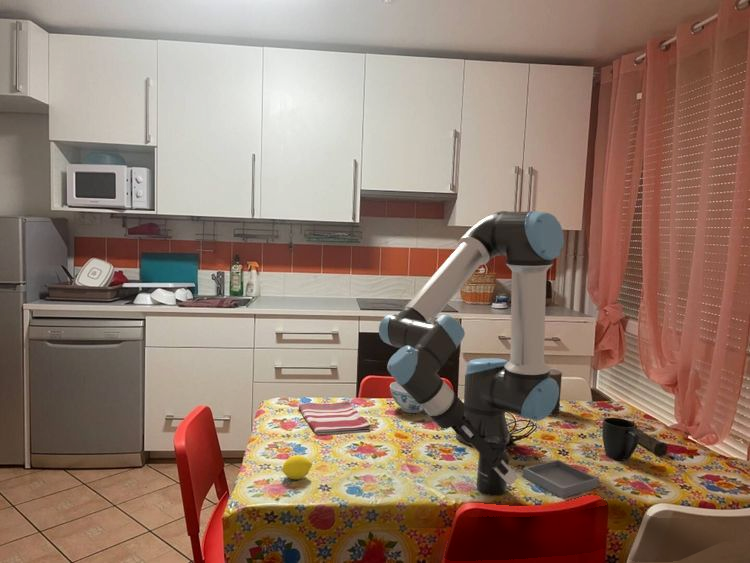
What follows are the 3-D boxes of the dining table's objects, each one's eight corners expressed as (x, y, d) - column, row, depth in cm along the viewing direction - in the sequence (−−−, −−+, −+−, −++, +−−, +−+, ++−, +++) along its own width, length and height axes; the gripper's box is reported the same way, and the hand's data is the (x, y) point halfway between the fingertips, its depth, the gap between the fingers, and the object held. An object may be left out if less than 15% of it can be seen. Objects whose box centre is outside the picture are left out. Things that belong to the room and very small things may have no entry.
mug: (618, 468, 147) (621, 432, 146) (594, 450, 159) (597, 417, 158) (648, 468, 148) (651, 432, 147) (622, 450, 160) (625, 417, 159)
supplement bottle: (473, 492, 129) (476, 440, 128) (479, 480, 135) (482, 431, 134) (504, 499, 127) (507, 446, 126) (508, 486, 133) (512, 436, 132)
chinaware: (391, 401, 196) (392, 379, 195) (435, 405, 193) (436, 382, 193) (386, 414, 181) (387, 390, 180) (433, 419, 179) (435, 395, 178)
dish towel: (348, 407, 188) (349, 399, 187) (372, 432, 166) (372, 423, 165) (298, 410, 182) (298, 402, 182) (315, 437, 160) (315, 427, 160)
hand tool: (667, 457, 157) (669, 440, 157) (654, 457, 157) (655, 440, 156) (629, 432, 176) (630, 418, 175) (617, 432, 175) (618, 417, 175)
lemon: (284, 486, 129) (282, 463, 128) (281, 476, 134) (279, 454, 133) (315, 480, 131) (313, 457, 130) (311, 470, 136) (309, 448, 135)
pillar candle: (565, 414, 190) (568, 370, 189) (540, 416, 187) (544, 371, 186) (547, 405, 199) (550, 363, 198) (523, 407, 196) (526, 364, 195)
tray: (522, 476, 139) (523, 467, 139) (557, 468, 145) (557, 459, 145) (561, 497, 128) (562, 488, 128) (597, 487, 135) (598, 478, 135)
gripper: (415, 399, 139) (470, 457, 143) (447, 437, 114) (512, 505, 118) (438, 378, 139) (491, 436, 143) (474, 410, 115) (537, 480, 119)
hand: (501, 468), depth 131 cm, fingers open, 13 cm apart
